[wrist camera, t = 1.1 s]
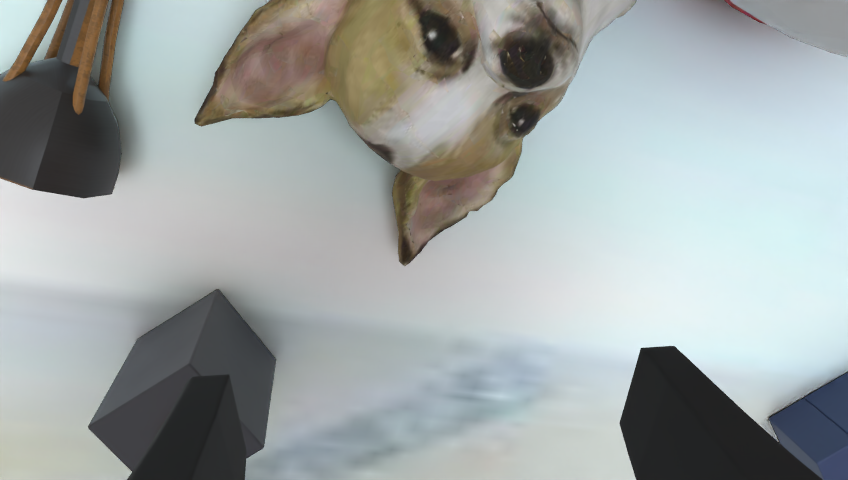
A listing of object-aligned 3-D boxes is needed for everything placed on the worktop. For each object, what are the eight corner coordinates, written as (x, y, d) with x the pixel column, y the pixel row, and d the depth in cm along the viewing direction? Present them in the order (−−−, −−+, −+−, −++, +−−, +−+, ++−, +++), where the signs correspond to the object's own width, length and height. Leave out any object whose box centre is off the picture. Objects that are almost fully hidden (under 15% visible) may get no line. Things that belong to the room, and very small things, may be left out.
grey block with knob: (198, 407, 28) (160, 529, 22) (136, 339, 27) (74, 447, 20) (276, 359, 28) (262, 467, 21) (218, 288, 26) (183, 380, 20)
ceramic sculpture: (828, -2, 18) (458, 366, 21) (656, -41, 25) (400, 237, 29) (610, -381, 13) (160, 185, 16) (471, -292, 20) (182, 84, 23)
